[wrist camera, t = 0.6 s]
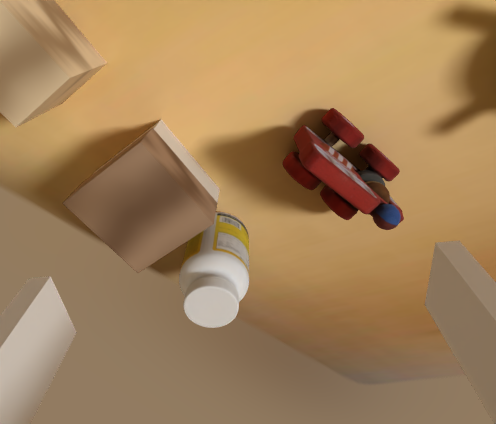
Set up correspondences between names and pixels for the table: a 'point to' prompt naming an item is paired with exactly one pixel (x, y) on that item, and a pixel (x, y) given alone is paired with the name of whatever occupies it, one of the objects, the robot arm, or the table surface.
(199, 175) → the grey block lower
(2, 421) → the robot arm
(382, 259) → the table surface
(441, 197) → the table surface
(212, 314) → the pill bottle
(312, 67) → the table surface
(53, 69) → the oak block
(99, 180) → the walnut block upper
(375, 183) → the toy fire truck
